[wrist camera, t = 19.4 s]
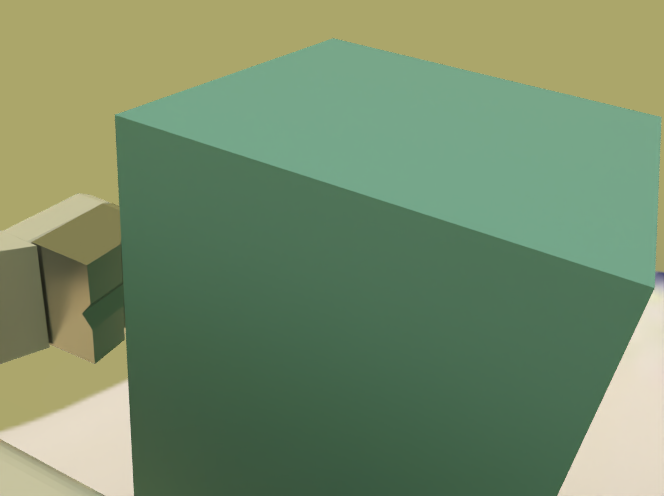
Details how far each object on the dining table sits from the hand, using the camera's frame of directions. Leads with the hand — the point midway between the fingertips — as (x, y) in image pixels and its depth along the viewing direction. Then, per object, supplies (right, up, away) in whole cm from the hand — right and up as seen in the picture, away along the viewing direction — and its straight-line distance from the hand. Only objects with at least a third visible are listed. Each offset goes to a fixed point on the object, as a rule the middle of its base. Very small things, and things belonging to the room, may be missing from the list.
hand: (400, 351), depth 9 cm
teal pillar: (-1, -7, +4) cm, 8 cm away
